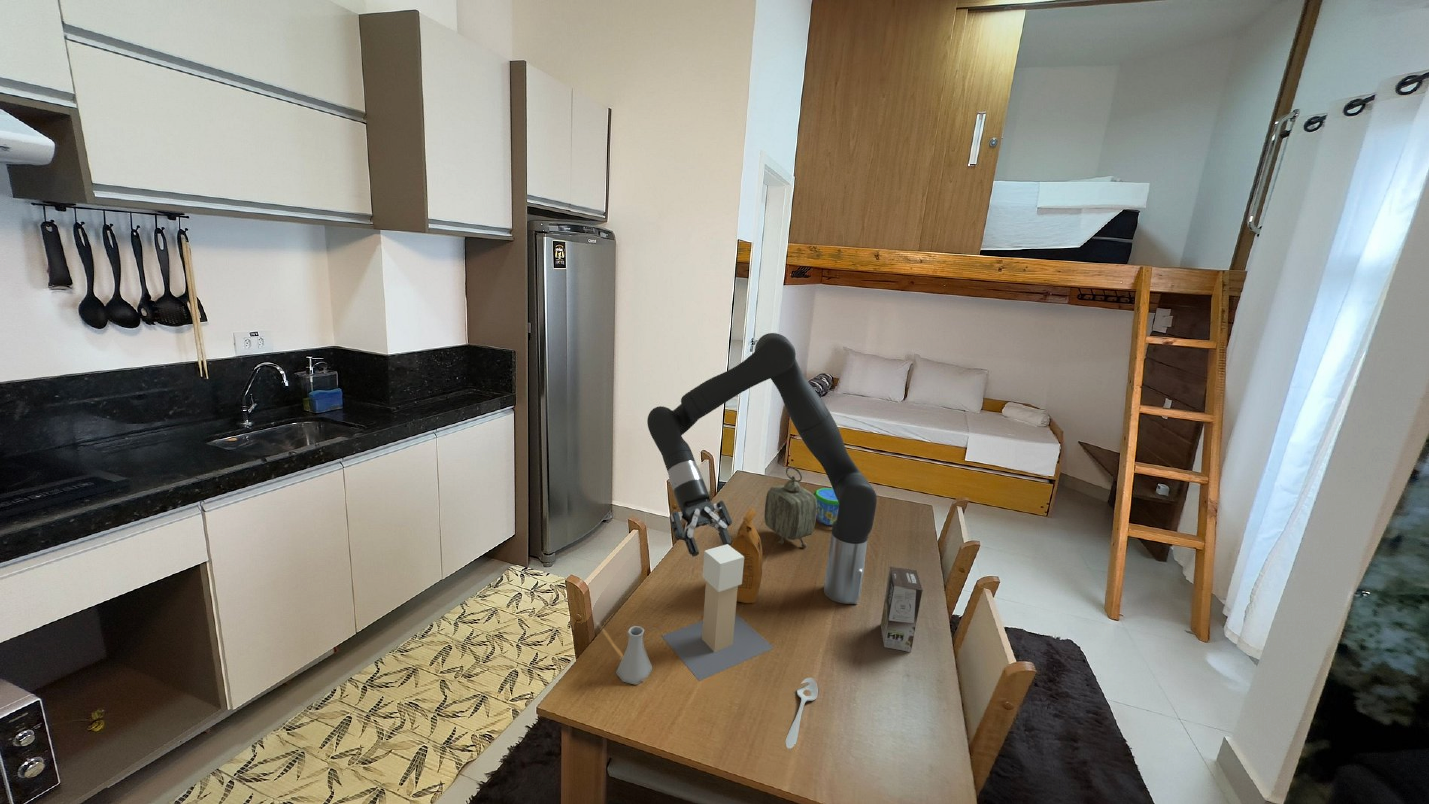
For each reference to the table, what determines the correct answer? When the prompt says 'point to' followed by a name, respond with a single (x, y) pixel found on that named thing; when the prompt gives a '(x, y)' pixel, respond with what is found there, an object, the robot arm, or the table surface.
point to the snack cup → (826, 505)
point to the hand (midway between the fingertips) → (712, 550)
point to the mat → (710, 662)
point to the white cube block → (723, 567)
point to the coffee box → (901, 608)
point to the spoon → (794, 728)
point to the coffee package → (749, 559)
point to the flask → (634, 659)
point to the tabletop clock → (791, 510)
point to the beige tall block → (719, 617)
